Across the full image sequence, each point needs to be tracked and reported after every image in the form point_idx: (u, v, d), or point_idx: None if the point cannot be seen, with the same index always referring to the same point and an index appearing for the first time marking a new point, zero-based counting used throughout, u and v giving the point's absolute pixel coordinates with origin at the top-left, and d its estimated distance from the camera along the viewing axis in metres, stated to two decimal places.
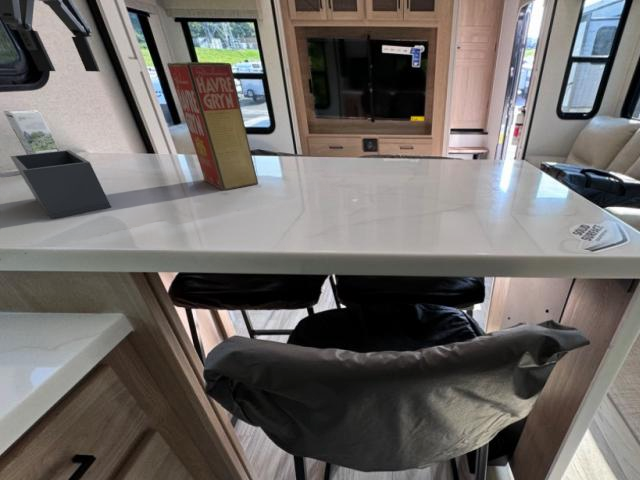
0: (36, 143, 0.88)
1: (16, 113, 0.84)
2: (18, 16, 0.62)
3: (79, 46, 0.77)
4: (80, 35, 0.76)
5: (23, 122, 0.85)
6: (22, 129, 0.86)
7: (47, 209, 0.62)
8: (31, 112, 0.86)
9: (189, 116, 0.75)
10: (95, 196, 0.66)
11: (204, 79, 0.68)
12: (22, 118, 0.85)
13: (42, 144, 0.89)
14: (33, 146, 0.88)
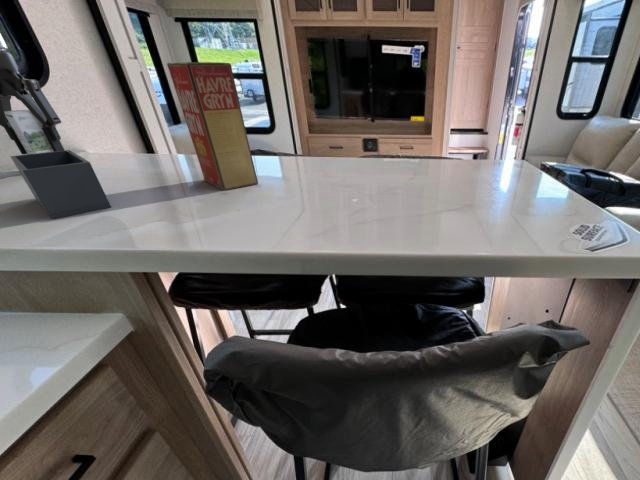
0: (36, 143, 0.88)
1: (16, 113, 0.84)
2: None
3: None
4: None
5: (23, 122, 0.85)
6: (22, 129, 0.86)
7: (47, 209, 0.62)
8: (31, 112, 0.86)
9: (189, 116, 0.75)
10: (95, 196, 0.66)
11: (204, 79, 0.68)
12: (22, 118, 0.85)
13: (42, 144, 0.89)
14: (33, 146, 0.88)
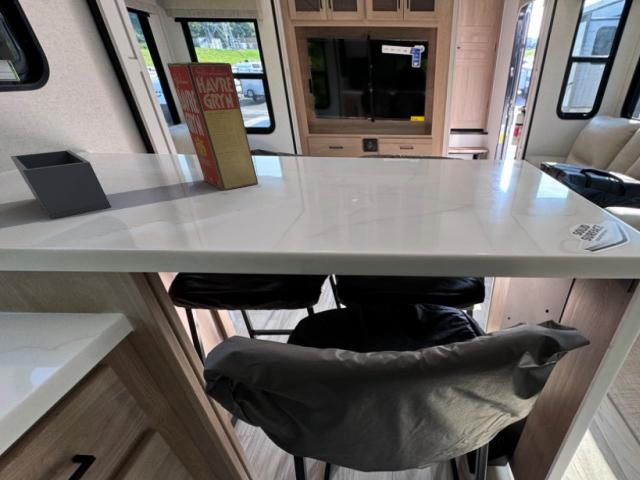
0: None
1: None
2: None
3: None
4: None
5: None
6: None
7: (47, 209, 0.62)
8: None
9: (189, 116, 0.75)
10: (95, 196, 0.66)
11: (204, 79, 0.68)
12: None
13: None
14: None
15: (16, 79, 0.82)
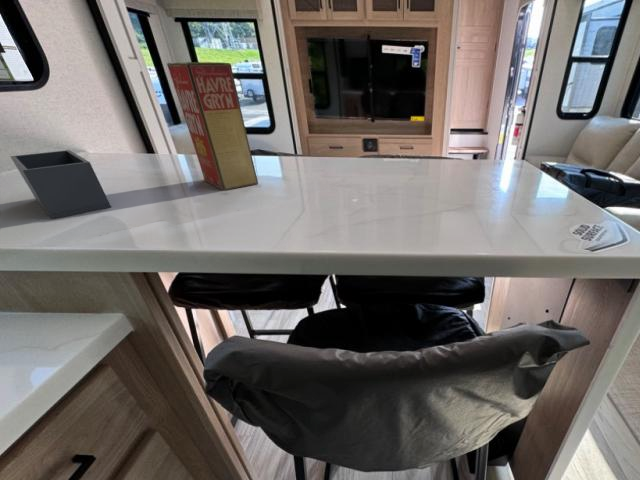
0: None
1: None
2: None
3: None
4: None
5: None
6: None
7: (47, 209, 0.62)
8: None
9: (189, 116, 0.75)
10: (95, 196, 0.66)
11: (204, 79, 0.68)
12: None
13: None
14: None
15: (11, 79, 0.61)
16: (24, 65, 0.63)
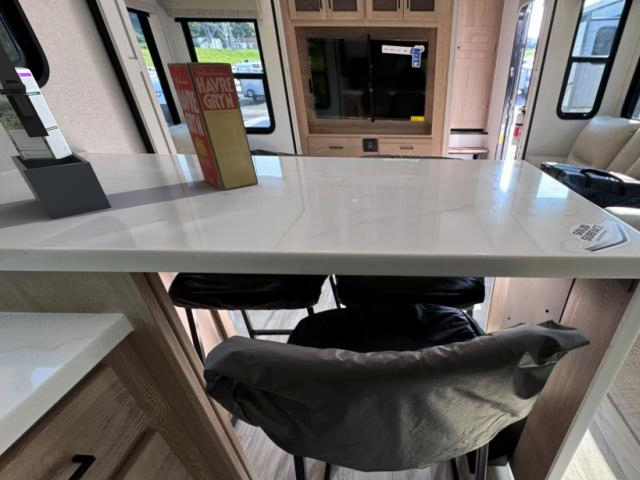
0: (7, 118, 0.59)
1: None
2: None
3: None
4: None
5: None
6: None
7: (47, 209, 0.62)
8: None
9: (189, 116, 0.75)
10: (95, 196, 0.66)
11: (204, 79, 0.68)
12: None
13: (16, 120, 0.59)
14: (4, 122, 0.59)
15: (53, 158, 0.64)
16: (64, 141, 0.66)
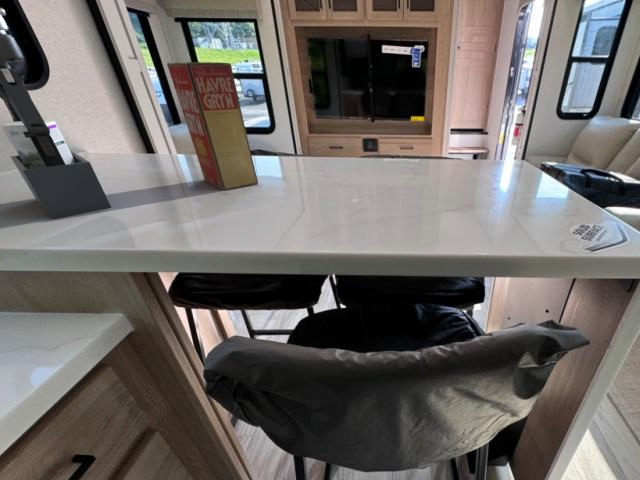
0: (35, 167, 0.64)
1: (8, 126, 0.60)
2: None
3: None
4: None
5: (16, 138, 0.61)
6: (16, 147, 0.61)
7: (47, 209, 0.62)
8: None
9: (189, 116, 0.75)
10: (95, 196, 0.66)
11: (204, 79, 0.68)
12: (15, 133, 0.60)
13: None
14: None
15: None
16: None
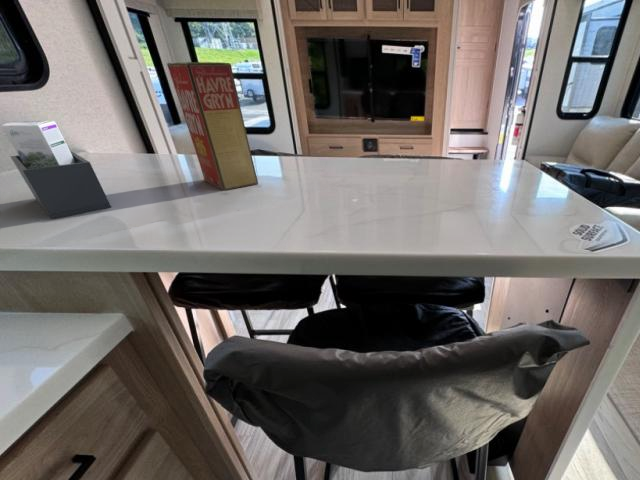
0: (35, 167, 0.64)
1: (8, 126, 0.60)
2: None
3: None
4: None
5: (16, 138, 0.61)
6: (16, 147, 0.61)
7: (47, 209, 0.62)
8: (27, 125, 0.60)
9: (189, 116, 0.75)
10: (95, 196, 0.66)
11: (204, 79, 0.68)
12: (15, 133, 0.60)
13: None
14: None
15: None
16: None
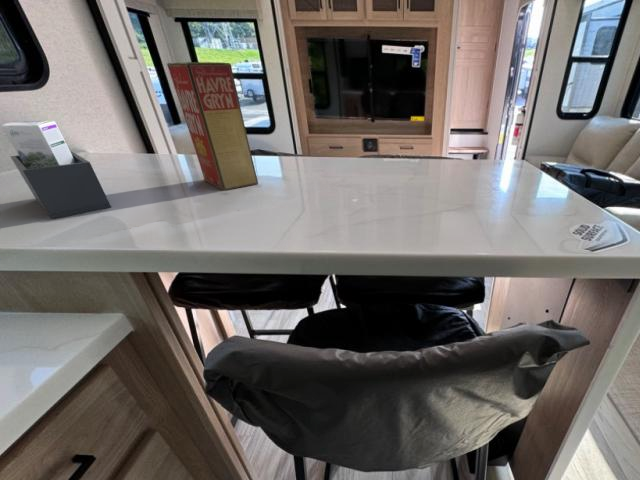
0: (35, 167, 0.64)
1: (8, 126, 0.60)
2: None
3: None
4: None
5: (16, 138, 0.61)
6: (16, 147, 0.61)
7: (47, 209, 0.62)
8: (27, 125, 0.60)
9: (189, 116, 0.75)
10: (95, 196, 0.66)
11: (204, 79, 0.68)
12: (15, 133, 0.60)
13: None
14: None
15: None
16: None
